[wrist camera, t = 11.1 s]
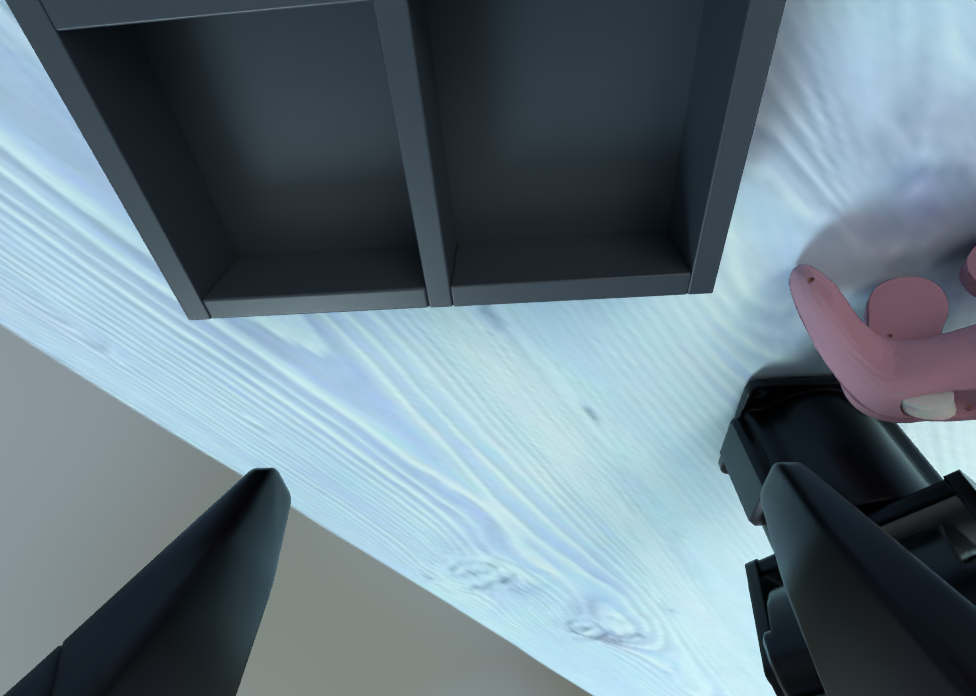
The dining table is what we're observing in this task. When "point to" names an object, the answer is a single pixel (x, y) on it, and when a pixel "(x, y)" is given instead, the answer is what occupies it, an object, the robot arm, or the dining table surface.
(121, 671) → the robot arm
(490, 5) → the grid
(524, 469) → the dining table surface
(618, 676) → the dining table surface
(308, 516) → the dining table surface
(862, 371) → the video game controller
